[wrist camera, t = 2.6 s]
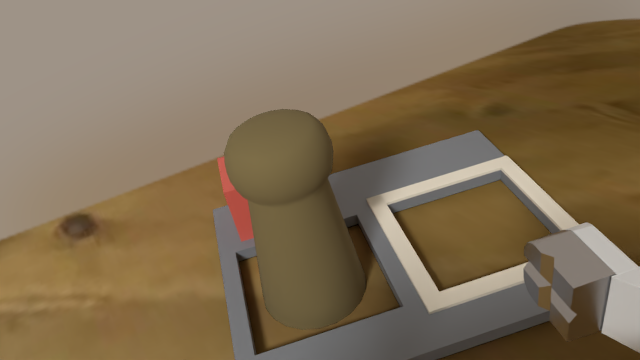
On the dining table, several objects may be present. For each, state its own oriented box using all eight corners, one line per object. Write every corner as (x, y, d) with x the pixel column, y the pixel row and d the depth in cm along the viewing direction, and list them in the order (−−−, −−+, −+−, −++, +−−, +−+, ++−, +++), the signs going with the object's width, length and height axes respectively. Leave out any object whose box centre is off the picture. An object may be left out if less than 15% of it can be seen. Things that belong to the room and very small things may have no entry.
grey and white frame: (247, 424, 25) (242, 412, 24) (216, 218, 38) (211, 207, 37) (632, 291, 27) (635, 278, 26) (477, 139, 40) (477, 127, 39)
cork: (279, 248, 34) (232, 96, 28) (372, 250, 33) (345, 89, 26) (250, 326, 30) (185, 165, 23) (357, 333, 28) (320, 162, 22)
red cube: (241, 241, 34) (223, 191, 32) (233, 205, 37) (216, 157, 35) (301, 223, 35) (288, 172, 32) (288, 188, 38) (275, 140, 35)
